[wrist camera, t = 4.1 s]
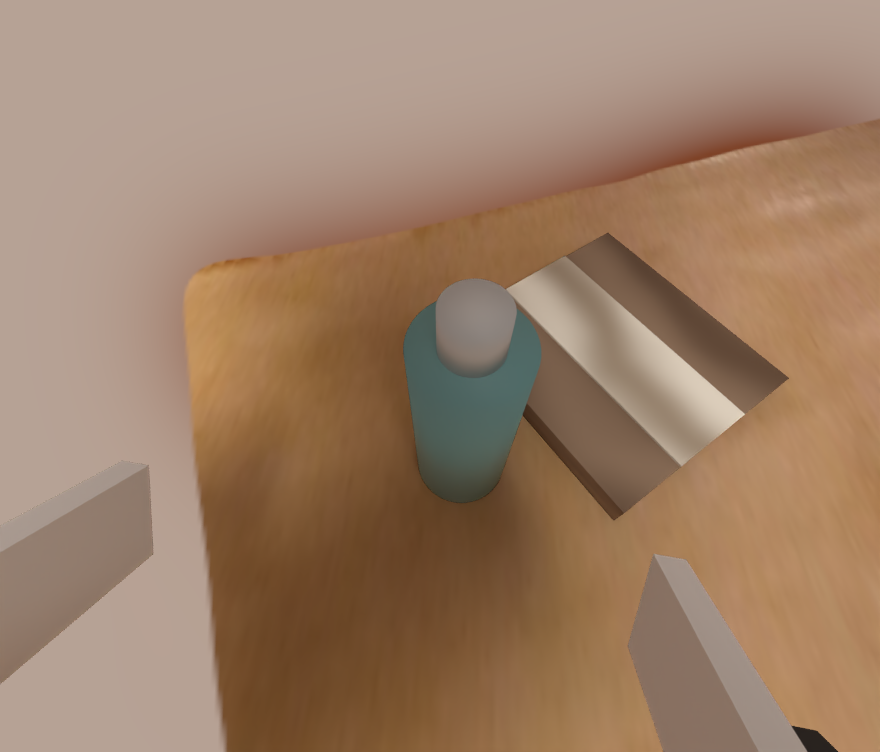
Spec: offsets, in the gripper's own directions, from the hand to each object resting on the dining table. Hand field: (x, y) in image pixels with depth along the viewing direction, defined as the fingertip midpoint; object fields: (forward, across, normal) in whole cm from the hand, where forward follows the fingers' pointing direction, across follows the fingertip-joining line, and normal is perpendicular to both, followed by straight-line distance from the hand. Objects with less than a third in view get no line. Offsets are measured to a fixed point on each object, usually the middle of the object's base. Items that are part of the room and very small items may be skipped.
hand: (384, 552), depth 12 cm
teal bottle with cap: (+13, +1, -3) cm, 13 cm away
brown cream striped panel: (+18, +9, +2) cm, 21 cm away
